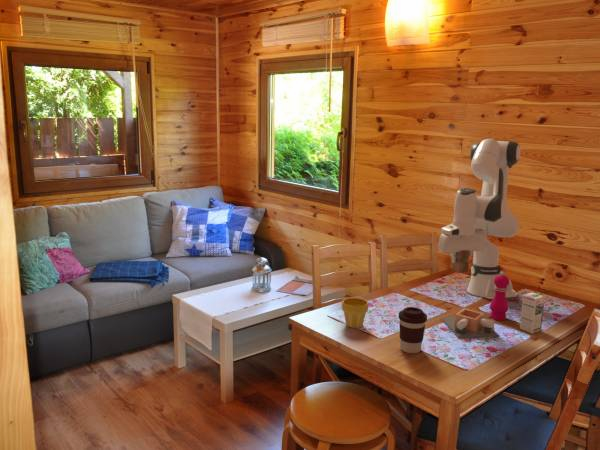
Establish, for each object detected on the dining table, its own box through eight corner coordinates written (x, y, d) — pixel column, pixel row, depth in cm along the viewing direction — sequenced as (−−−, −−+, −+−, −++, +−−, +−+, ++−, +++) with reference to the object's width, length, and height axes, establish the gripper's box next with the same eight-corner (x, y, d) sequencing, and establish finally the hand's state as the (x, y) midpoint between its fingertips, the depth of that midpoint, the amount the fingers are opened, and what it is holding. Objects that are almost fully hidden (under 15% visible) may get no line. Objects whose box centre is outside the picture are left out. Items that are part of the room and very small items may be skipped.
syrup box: (532, 333, 201) (536, 298, 198) (519, 328, 206) (522, 294, 203) (541, 330, 204) (545, 296, 201) (527, 325, 209) (531, 291, 206)
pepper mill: (485, 317, 217) (490, 271, 213) (493, 312, 222) (497, 268, 218) (502, 322, 212) (507, 275, 208) (509, 317, 217) (514, 271, 213)
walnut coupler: (461, 268, 216) (463, 247, 214) (467, 271, 211) (469, 250, 210) (451, 269, 214) (453, 248, 212) (458, 272, 210) (460, 251, 208)
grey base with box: (441, 319, 214) (442, 305, 212) (478, 318, 215) (479, 305, 214) (458, 338, 196) (459, 323, 195) (498, 337, 198) (500, 322, 196)
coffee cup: (407, 357, 180) (409, 317, 177) (391, 345, 189) (393, 307, 186) (430, 352, 184) (433, 313, 181) (413, 341, 193) (416, 303, 190)
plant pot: (346, 317, 214) (347, 295, 212) (370, 322, 210) (371, 299, 207) (337, 326, 205) (338, 303, 203) (362, 332, 200) (363, 308, 198)
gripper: (480, 226, 215) (477, 258, 218) (437, 228, 209) (434, 261, 212) (490, 229, 209) (486, 262, 212) (446, 231, 203) (443, 265, 206)
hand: (460, 262), depth 212 cm, fingers closed on walnut coupler, 4 cm apart
